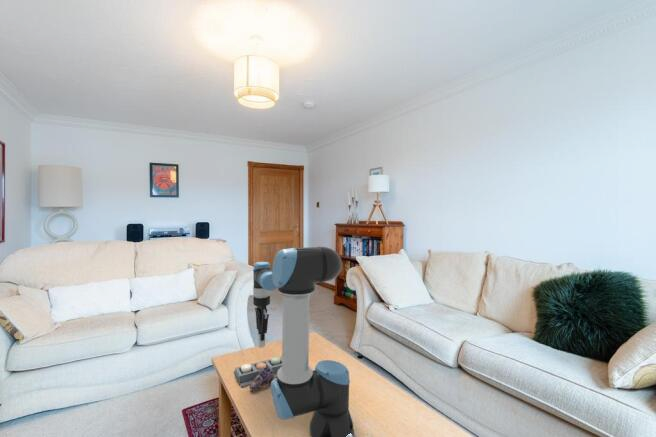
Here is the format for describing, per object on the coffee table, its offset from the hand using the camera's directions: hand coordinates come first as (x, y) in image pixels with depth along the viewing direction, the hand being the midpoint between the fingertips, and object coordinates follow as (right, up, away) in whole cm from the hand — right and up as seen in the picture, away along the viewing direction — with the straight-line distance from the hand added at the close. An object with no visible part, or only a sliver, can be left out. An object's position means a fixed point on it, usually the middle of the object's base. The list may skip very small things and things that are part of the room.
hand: (261, 346), depth 141 cm
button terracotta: (0, -11, +1) cm, 11 cm away
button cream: (-6, -10, -3) cm, 12 cm away
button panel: (0, -13, +1) cm, 13 cm away
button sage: (+6, -10, +4) cm, 12 cm away
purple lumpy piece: (+2, -13, -9) cm, 16 cm away
